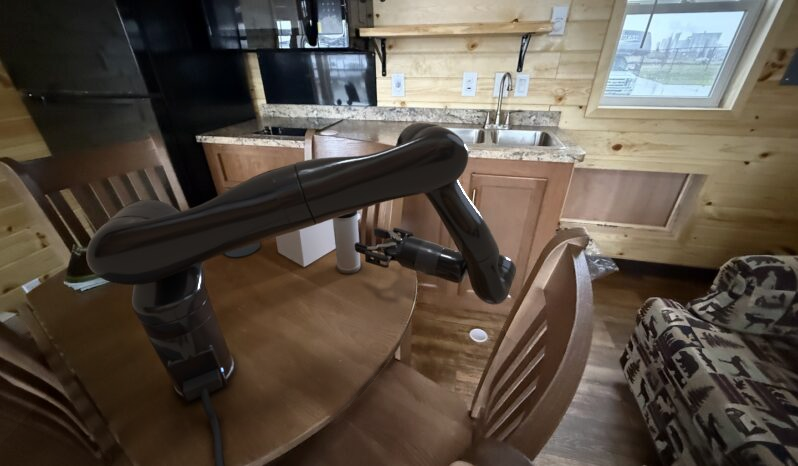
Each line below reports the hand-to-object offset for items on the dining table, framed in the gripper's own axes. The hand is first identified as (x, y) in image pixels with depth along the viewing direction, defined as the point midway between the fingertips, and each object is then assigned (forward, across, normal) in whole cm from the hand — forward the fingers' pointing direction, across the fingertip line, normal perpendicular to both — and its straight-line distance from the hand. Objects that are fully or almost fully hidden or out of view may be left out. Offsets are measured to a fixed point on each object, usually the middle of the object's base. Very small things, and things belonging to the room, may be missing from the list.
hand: (365, 238), depth 79 cm
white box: (+23, +5, +5) cm, 24 cm away
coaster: (+40, +8, +11) cm, 42 cm away
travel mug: (+6, 0, +11) cm, 13 cm away
